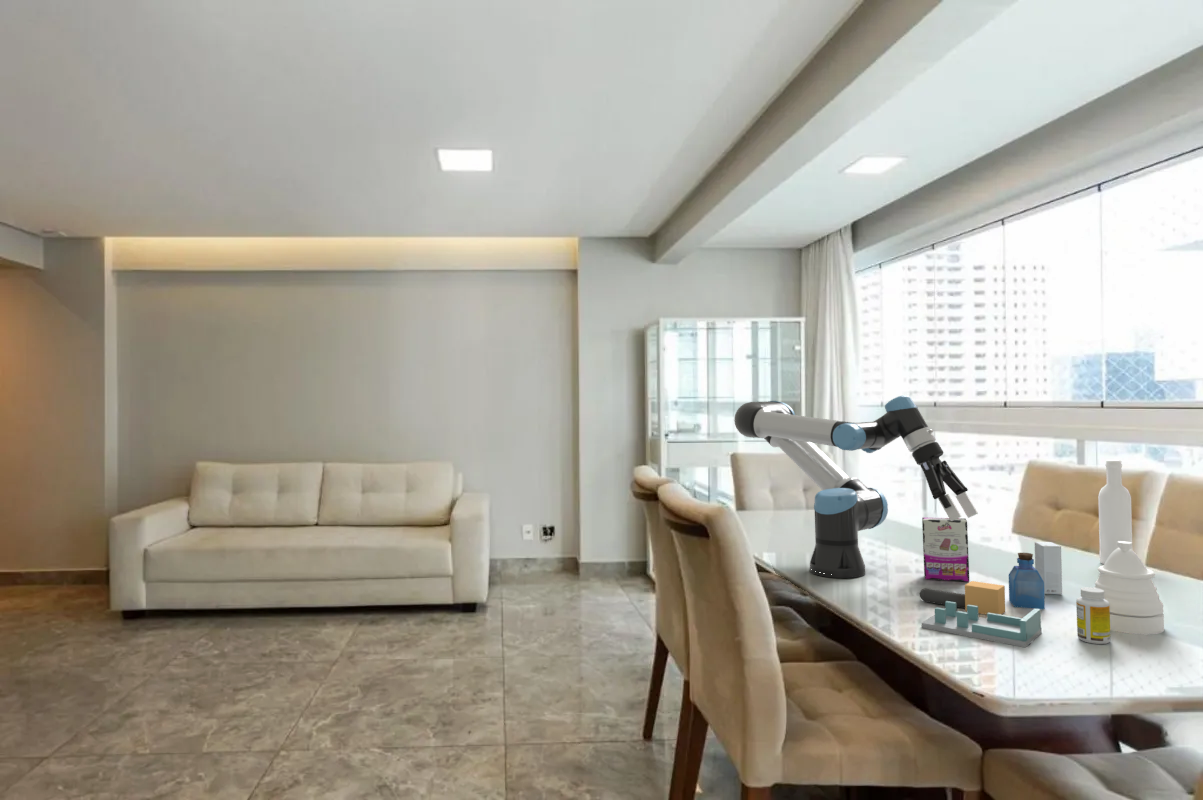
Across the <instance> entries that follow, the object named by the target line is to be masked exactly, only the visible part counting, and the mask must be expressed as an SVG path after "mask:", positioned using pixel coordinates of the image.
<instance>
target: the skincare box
mask: <svg viewBox="0 0 1203 800" xmlns="http://www.w3.org/2000/svg"><path fill="white" fill-rule="evenodd" d="M1034 568H1035V569H1036V570H1037V571H1038V573H1039V574H1040V576H1041V578H1042V580H1043V581H1044V595H1063V575H1062V573H1063V568H1062V546H1060V545H1059V544H1056V543H1054V542H1052V541H1047V542H1046V541H1034Z"/></svg>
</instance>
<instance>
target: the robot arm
mask: <svg viewBox="0 0 1203 800" xmlns="http://www.w3.org/2000/svg"><path fill="white" fill-rule="evenodd" d="M884 409H885V413H884V414H883V415H881V417H879V418H877V419H875V420H873V421H863V422H851V421H843V420H834V419H828V418H820V417H813V416H805V415H804V416H803V415H797V414H795V413H796V412H795V411H794V409H793V408H792V407H791V406H790V405H789V404H787V403H786V402H783V401H778V400H768V401H749V402H746V403H744V404H742V405H740V406H739V407H738V409H737V410H736V412H735V415H734V419H733V421H734V427H735V429H736V430H737V431H738V432H739V434H741V435H742V436H744V437H747V438H759V439H764V440H765V441H766V442H767V443H768V444H769V445H770V446H771V447H773V448H780V449H781V450H782V451H783V453H784V454H785V455H786V456H787V457H789V459H791V460H792V462H794V464H795V465H796V466H797V467H798V468H800V470H801V471H803V473H805V475H807V477H809V478H810V479H811V481H813V482H814V484H815V485H816V486H818V488H819V489H821V490H820V491H818V492H817V493H816V494H815V496H814V504H813V509H814V533H815V534H814V537H815V541H814V542H815V546H814V549H813V552H812V555H811V558H810V561H809V572H810V573H811V574H813V575H816V576H820V577H823V578H824V577H825V578H826V577H827V578H833V579H834V578H836V579H849V578H850V579H852V578H853V579H854V578H860V577H863V576H864V575H866V565H865V561H864V559H863V557H862V553H861V550H860V547H859V531H860V532H861V531H864V530H871V529H874V528H876V527H878V526H880V525H881V524H883V523H884V522H885V520H886V518H887V516H888V512H889V509H888V508H889V504H888V501H887V499H886V496H885V495H884V494H883V492H882V491H880V490H878V489H877V488H873V487H868V486H866V485H865V484H864V483H863V481H861V480H860V479H859V478H857V477H849V476H848V474H846V473H845V472H844V471H843V470H842V469H841V468H840V467H839V466H838V465H837V464H836V463H835V462H834V461H833V460H832V459H831V458H830V457H828V456H827V454H826V453H825V452H823V451H822V450H821V448H819V447H818V446H817V445H816V444H818V445H824V446H830V447H837V448H839V450H842V451H848V452H849V451H858V450H861V451H863V452H865V453H867V454H872V453H874V452H876V451H878V450H881V449H882V448H883V447H885V446H886V445H888V444H890V443H892V442H894V441H895V440H897V439H898V438H900V437H901V438H902V440H903V442H904V444H905V446H906V447H907V449H908V452H910V453H911V456H912V457H913V460H914V461H915V462H916V464H917V465H918V466H920V468H921V470H922V472H923V474H924V477H925V479H926V481H927V482H926V483H927V484H928V487H929V490H930V492H931V496H932V499H934V500H937V499H938V501H939V503H940V505H941V506H942V507H943V510H944V511H945V513H946V515H947V518H950V520H951V521H953V520H955V519H958V518H962V515H961V513H960V511H959V510H958V508H957V507H956V505H955V503H954V501H953V499H952V497H951V496H950V495H949V493H947V491H946V487H945V485H947V486H948V488H949V489H950V490H951V491H952V492H953V493H954V494H955V495H956V496H955V498H956V499H957V502H958V503H959V505H960V506H961V508H962V509H963V512H964V513H965V515H966V517H967V519H969V518H972V517H973V516H976V515H978V514H979V513H978V511H977V509H976V508H975V505H974V504H973V502H972V501H971V499H970V498H969V495H968V494H967V493H966V492H968V491H969V488H968V487H967V486H965V485H964V484H963V482H962V481H961V480H960V478H959V477H958V476H957V475H956V473H955V472H954V471H953V469H952V468H951V467H950V465H949V464H948V462H947V461H946V460H945V459H943V461H941V459H940V457H942V456H943V454H944V450H943V449H942V447H941V445H940V444H939V442H937V441H936V438H935V436H934V434H933V432H934V430H933V429H930V427H929V425H928V424H927V422H926V421H925V419H924V417H923V415H922V413H921V412H920V410H919V408H918V406H917V405H916V404H915V402H914V401H913V400H912V398H911V396H909V395H908V394H906V395H905V394H904V395H899V396H896V397H895V398H892V399H891V400H889V401H888V402H887V403H885V405H884ZM811 569H812V570H811ZM815 571H816V572H815ZM819 572H821V573H819ZM823 573H825V574H823ZM831 574H832V575H831Z"/></svg>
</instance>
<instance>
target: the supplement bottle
mask: <svg viewBox="0 0 1203 800" xmlns="http://www.w3.org/2000/svg"><path fill="white" fill-rule="evenodd" d="M1104 598H1105V596H1104V590H1102V589H1098V588H1094V587H1090V586H1089V587H1086V586H1085V587H1081V588H1080V596H1079V597H1077V598H1076V602H1075V603H1076V631H1077V633H1076V634H1077V635H1076V636H1077V638H1078V640H1081V641H1083V642H1085V643H1088V644H1094V645H1106V644H1109V643H1110V642H1111V639H1112V638H1111V630H1110V605H1109V602H1108V601H1107V600H1105V599H1104Z"/></svg>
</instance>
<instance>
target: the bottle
mask: <svg viewBox="0 0 1203 800" xmlns="http://www.w3.org/2000/svg"><path fill="white" fill-rule="evenodd" d="M1122 467H1123V464H1122V461H1121V460H1120V459H1106V460H1105V472H1106V475H1105V476H1106V478H1105V479H1106V484H1104V486H1102V487H1101V488H1100V490H1099V493H1098V495H1097V496H1098V498H1097V499H1098V500H1097V501H1098V525H1099V526H1098V532H1099V534H1098V535H1099V536H1098V537H1099V539H1098V540H1099V553H1098V554H1099V562H1100V563H1101V564H1102V565H1104V564H1105V562H1106V560H1107V559H1108V557H1109V556H1110V554H1111V553H1112V552H1113V551H1114V550H1116V549H1117V548H1119V547H1118V543H1117V542H1118V541H1126V542H1132V543H1133V521H1132V520H1133V519H1132V517H1133V516H1132V514H1133V512H1132V495H1131V494H1130V491H1129V489H1128V488H1127V487H1125V486H1124V485H1123V480H1122V479H1123V475H1122V473H1123V472H1122ZM1131 550H1133V546H1132V547H1131ZM1133 551H1134V550H1133Z"/></svg>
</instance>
